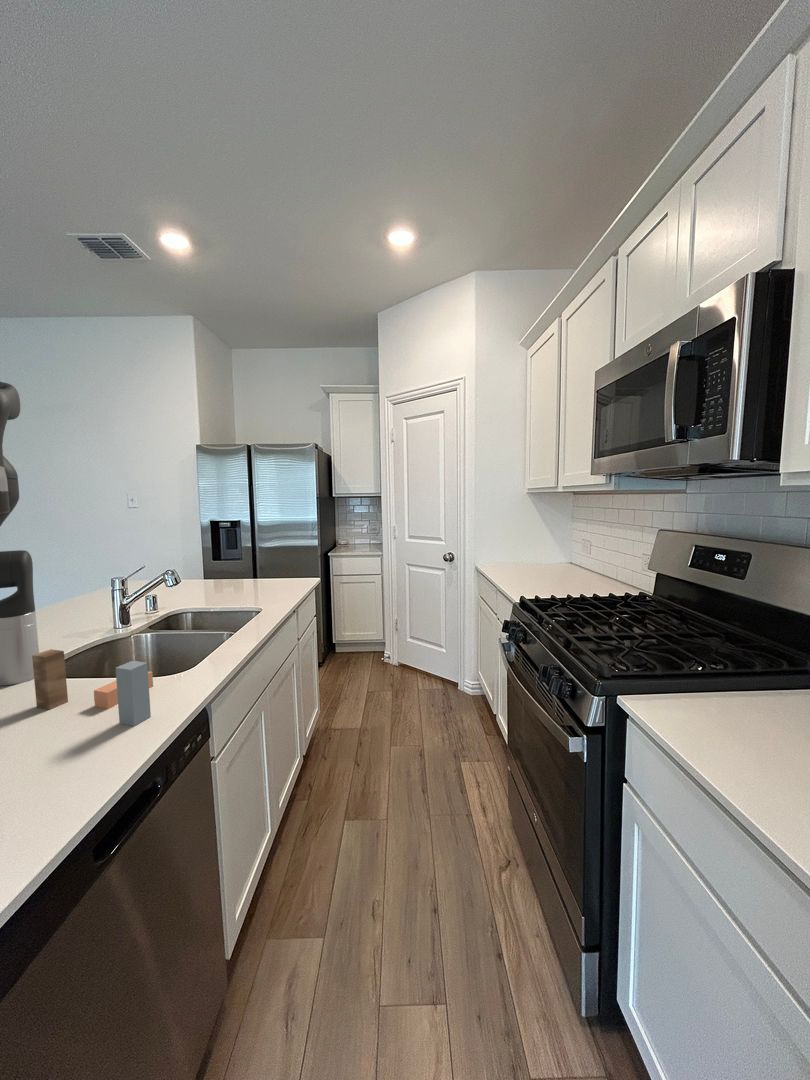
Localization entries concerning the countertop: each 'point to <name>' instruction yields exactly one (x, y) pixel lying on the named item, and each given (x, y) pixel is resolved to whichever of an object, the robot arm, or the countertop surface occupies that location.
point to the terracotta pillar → (111, 694)
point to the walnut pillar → (50, 679)
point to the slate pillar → (133, 693)
